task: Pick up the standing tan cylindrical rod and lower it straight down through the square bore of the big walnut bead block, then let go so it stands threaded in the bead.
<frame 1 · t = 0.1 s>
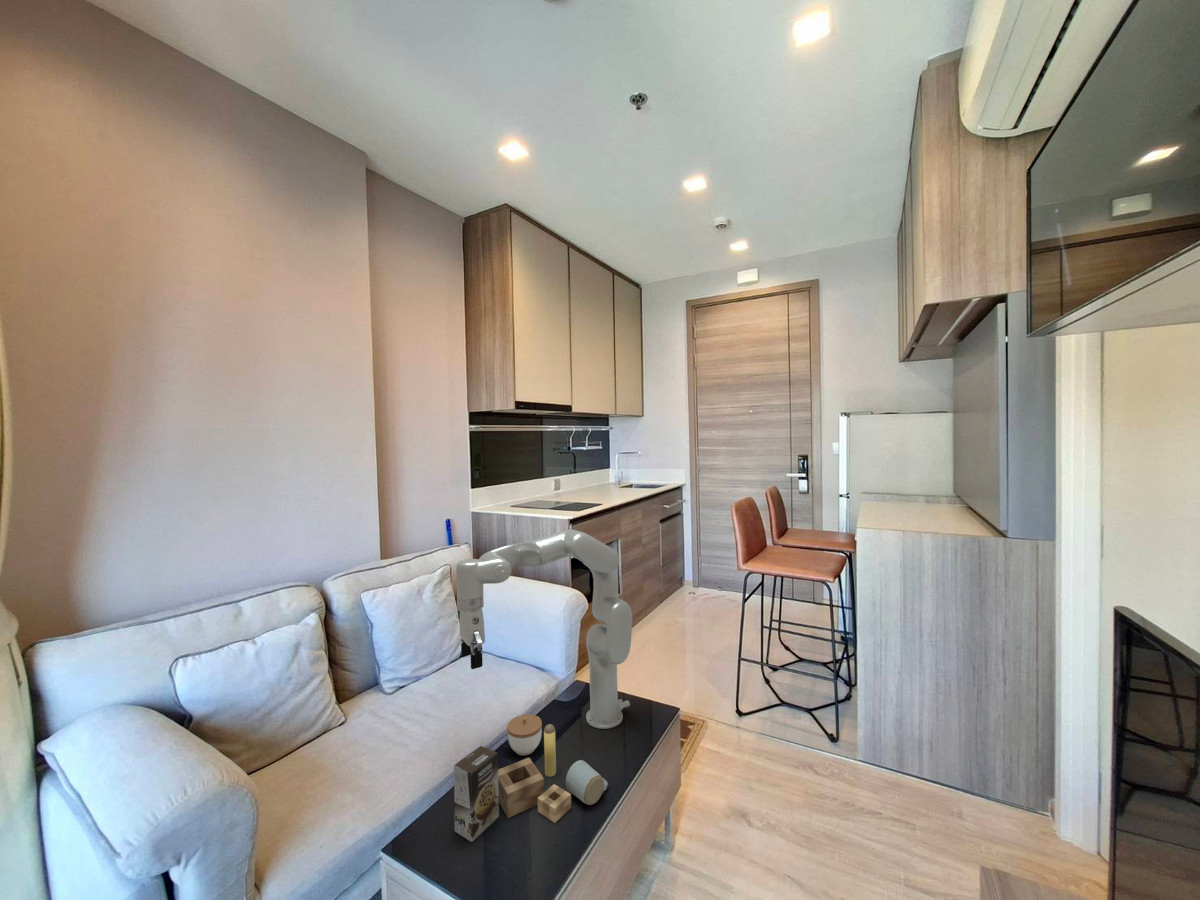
hand: (471, 661, 133), 31 cm above the table, fingers open, 9 cm apart
coffee box: (477, 825, 112), on the table
loose bead: (554, 809, 116), on the table
lidded jar: (525, 749, 141), on the table
tan cylindrical rod: (550, 772, 130), on the table
ceramic mug: (588, 794, 121), on the table
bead: (519, 797, 121), on the table
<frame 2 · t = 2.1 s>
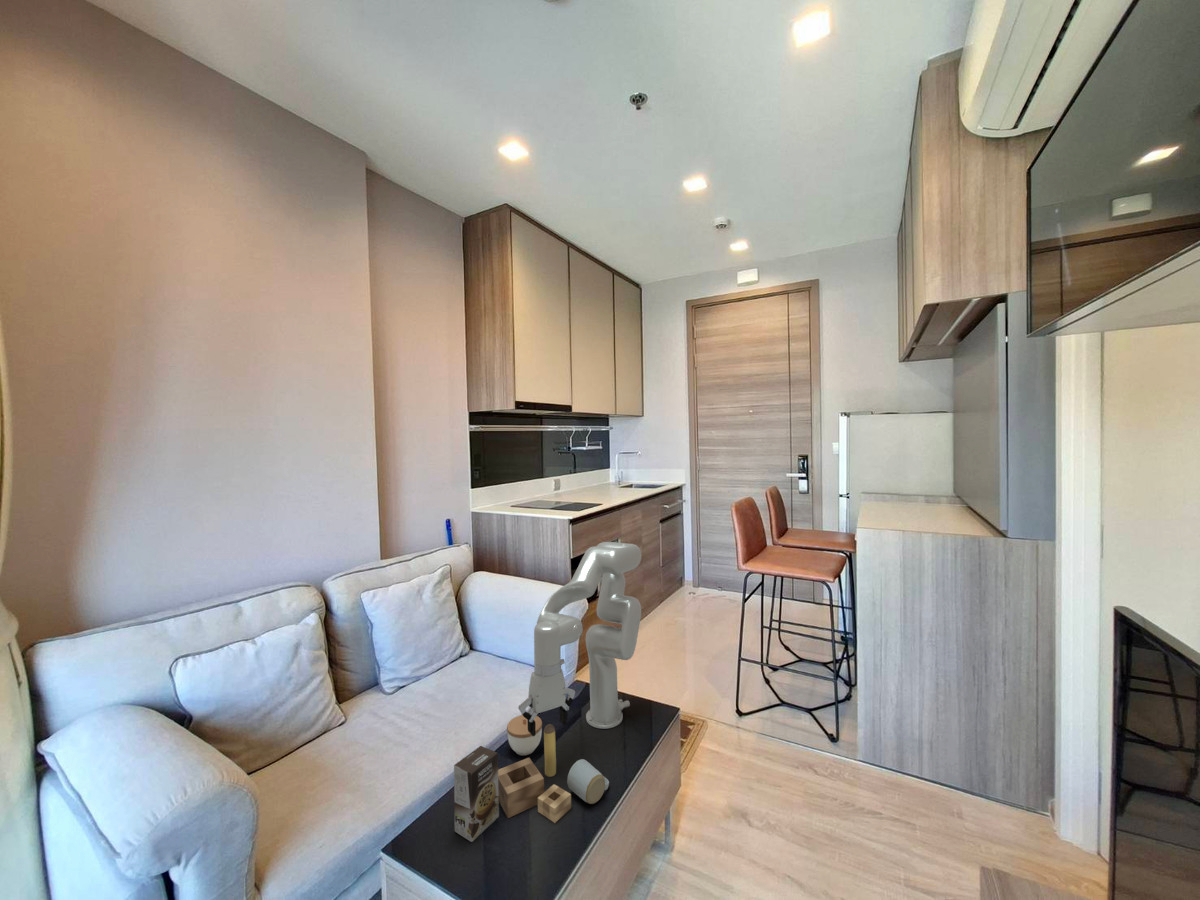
hand: (547, 728, 129), 13 cm above the table, fingers open, 9 cm apart
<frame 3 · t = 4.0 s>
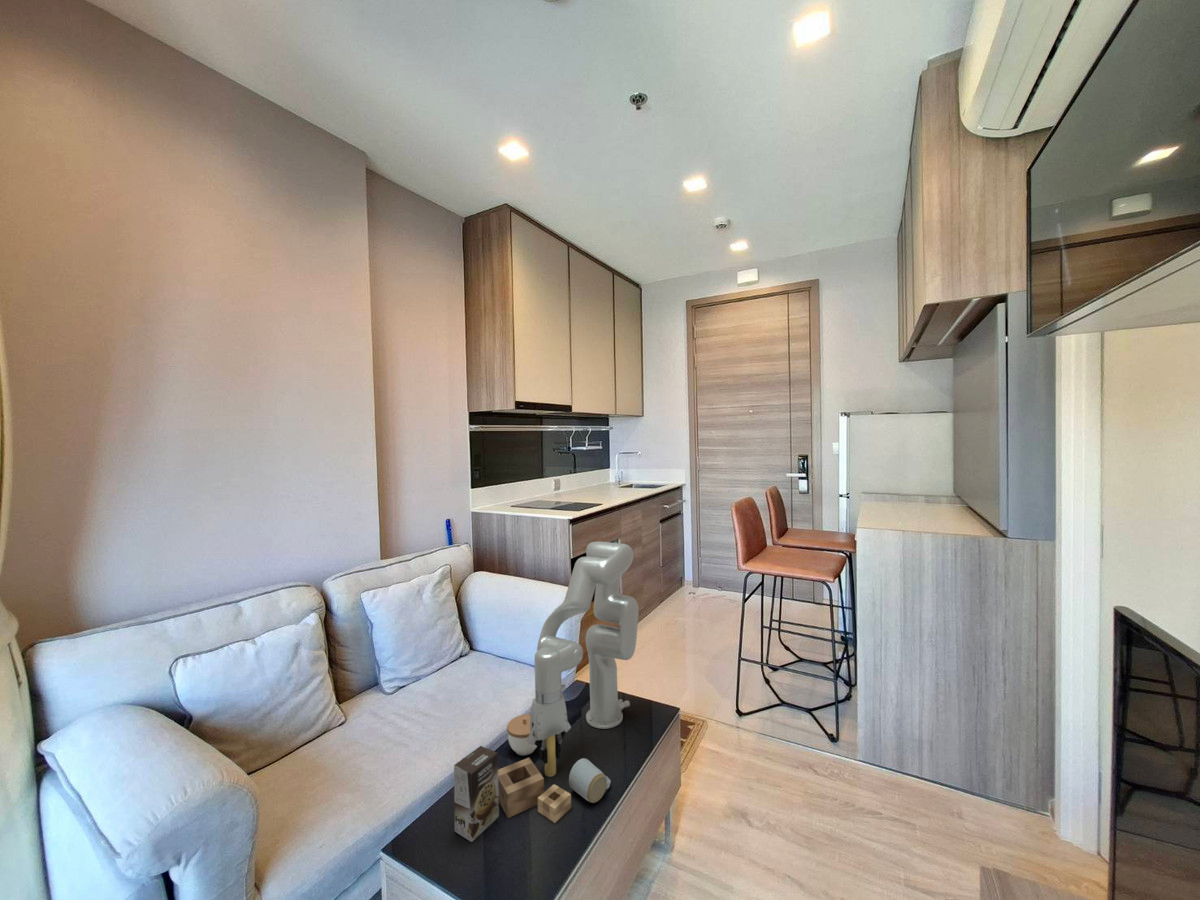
hand: (550, 757, 130), 4 cm above the table, fingers closed on tan cylindrical rod, 3 cm apart
tan cylindrical rod: (550, 772, 130), on the table, touching gripper
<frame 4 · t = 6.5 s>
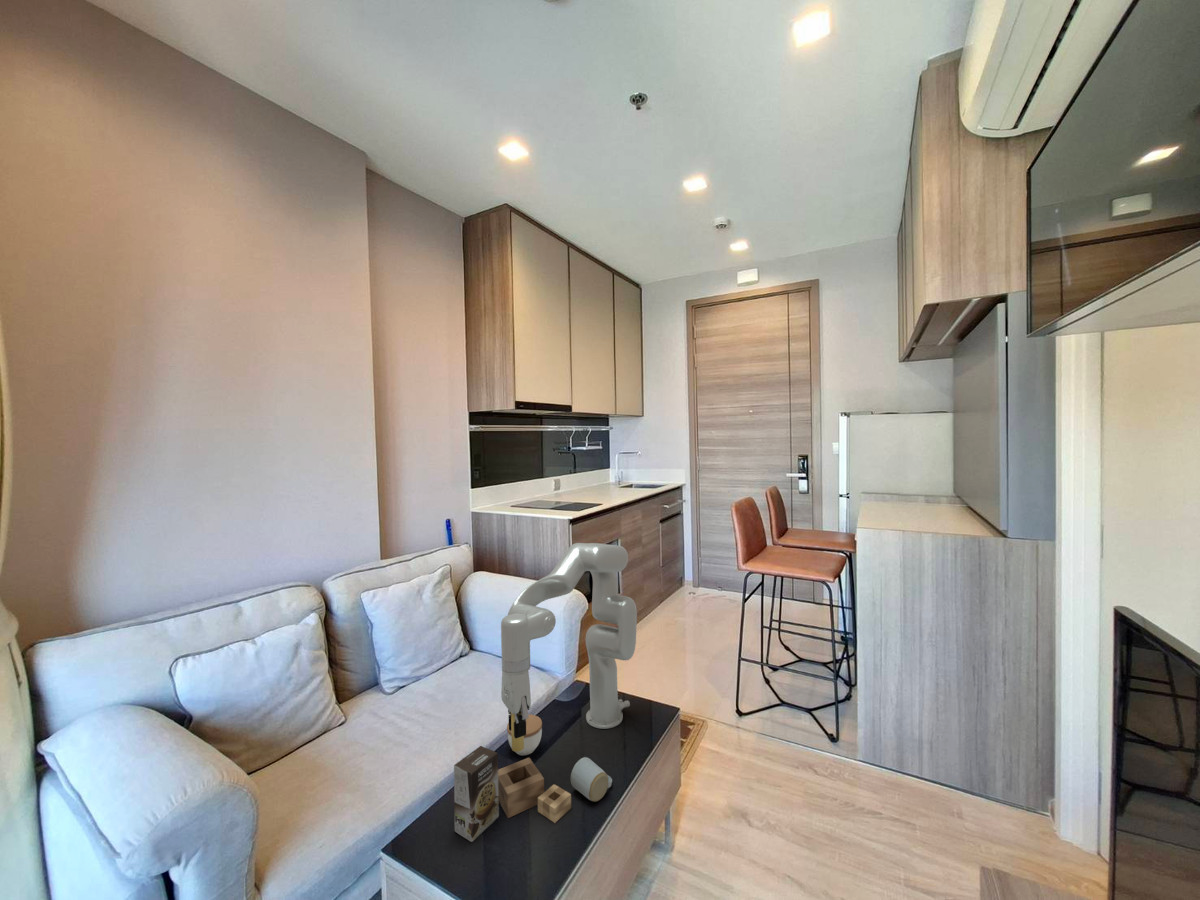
hand: (517, 731, 121), 17 cm above the table, fingers closed on tan cylindrical rod, 3 cm apart
tan cylindrical rod: (517, 747, 121), point 13 cm above the table, touching gripper
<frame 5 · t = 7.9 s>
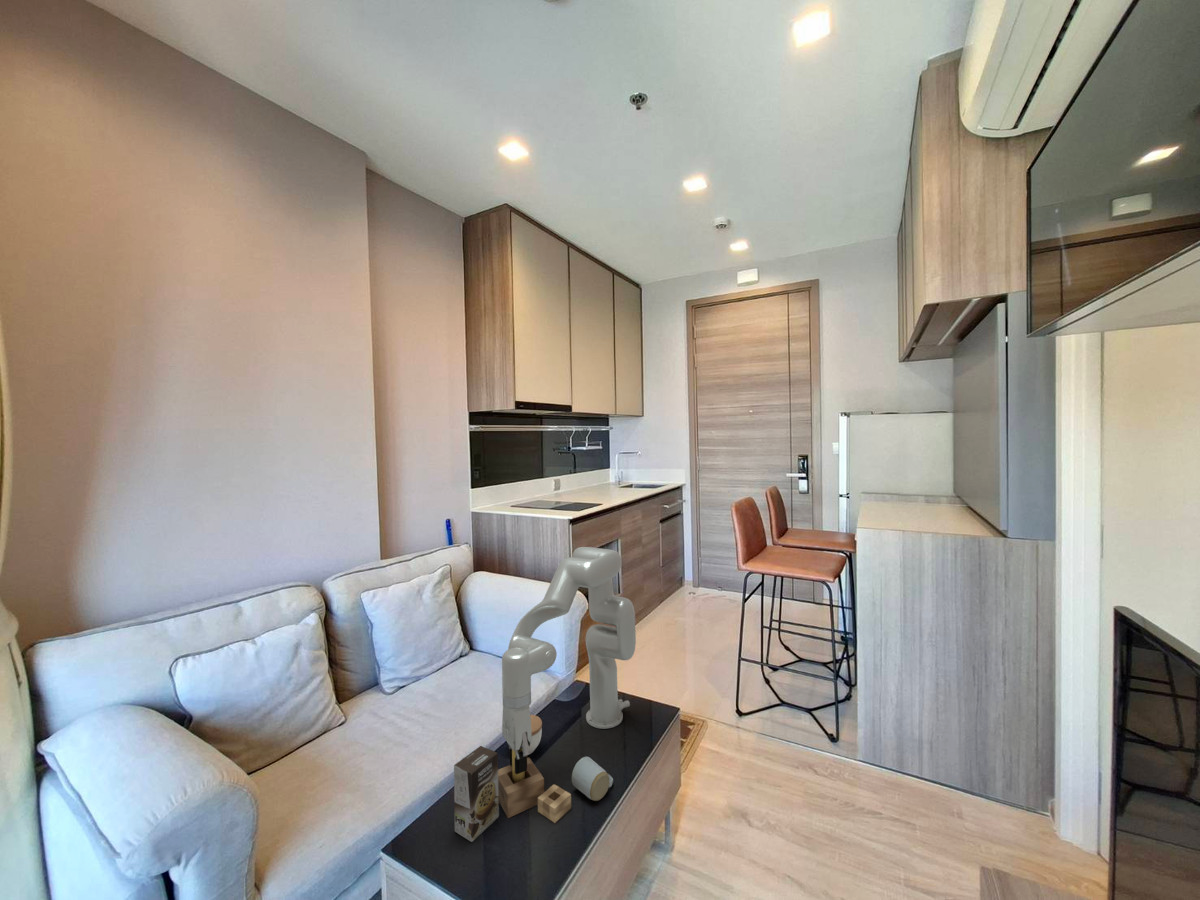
hand: (518, 766, 121), 8 cm above the table, fingers closed on tan cylindrical rod, 3 cm apart
tan cylindrical rod: (518, 783, 120), point 4 cm above the table, touching gripper
when the fingers open (7 cm above the table, at t = 9.2 s): tan cylindrical rod drops 3 cm, resting in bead.
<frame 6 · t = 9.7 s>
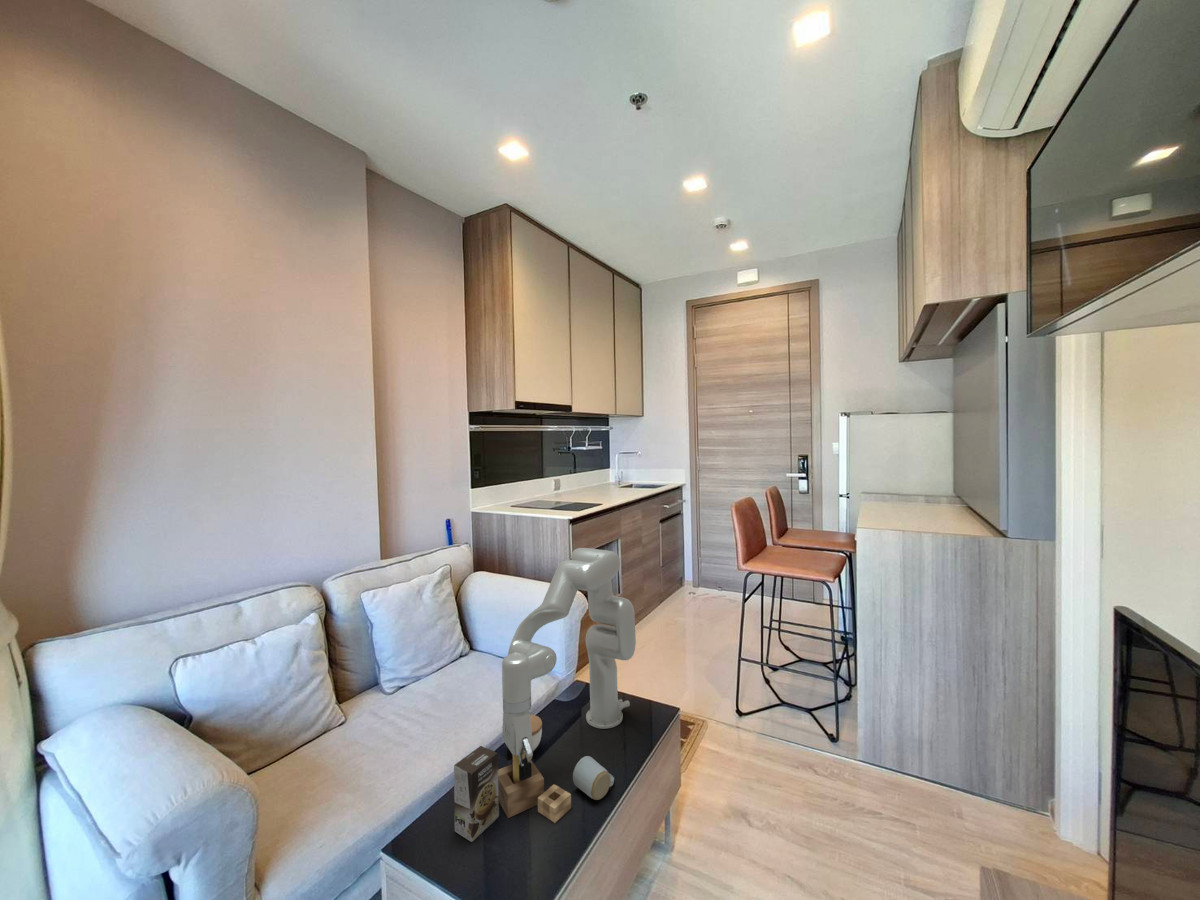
hand: (518, 768, 121), 8 cm above the table, fingers open, 8 cm apart
tan cylindrical rod: (519, 797, 121), resting in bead
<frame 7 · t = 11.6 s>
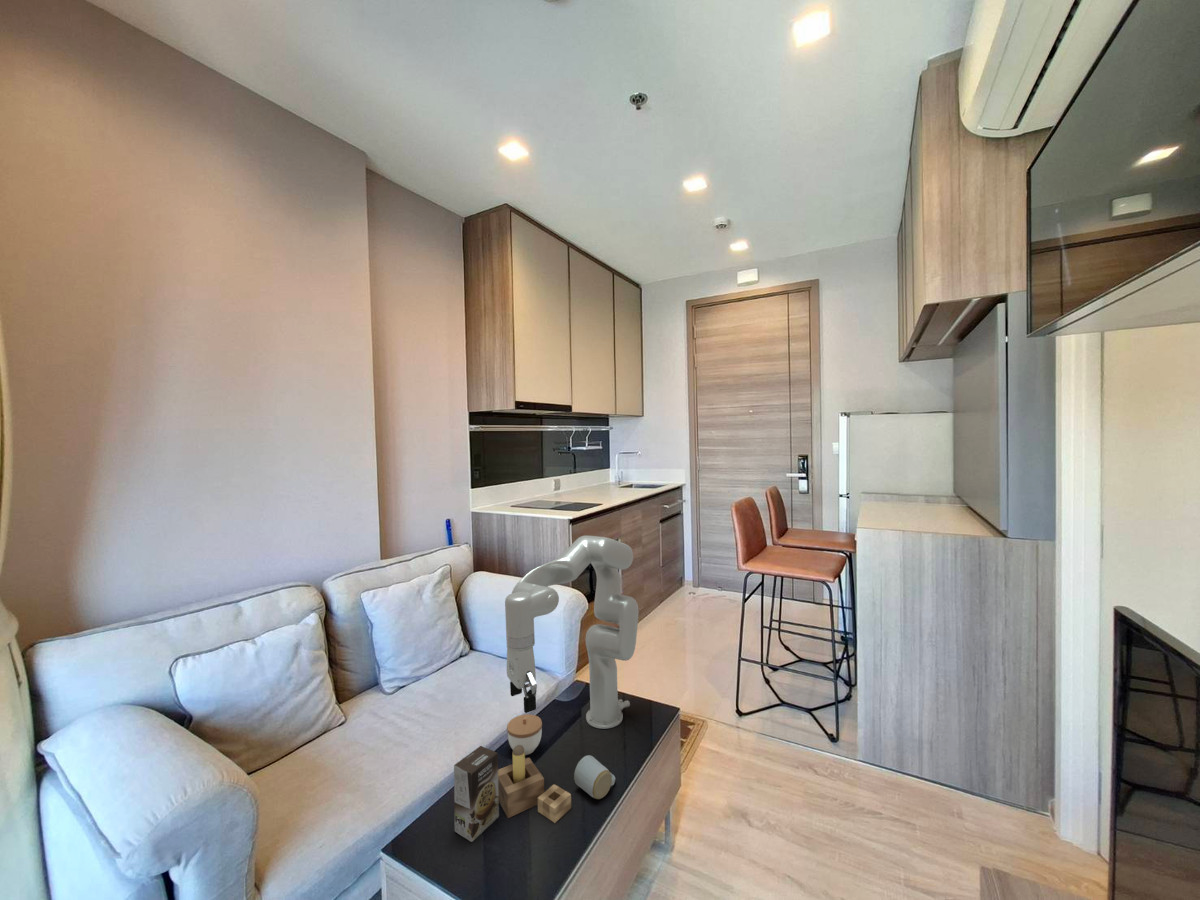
hand: (523, 702, 123), 24 cm above the table, fingers open, 9 cm apart
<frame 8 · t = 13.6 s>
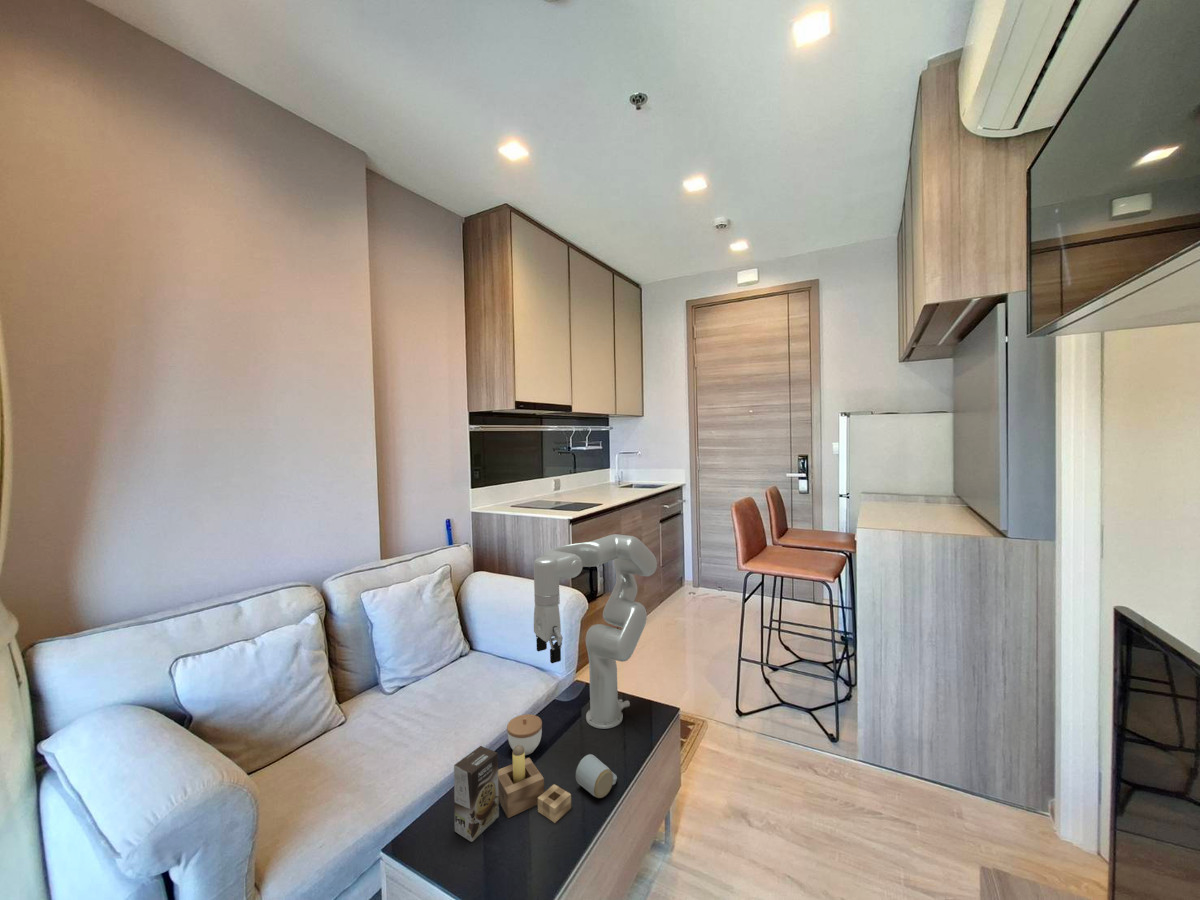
hand: (548, 655, 137), 30 cm above the table, fingers open, 9 cm apart
at the end: tan cylindrical rod 0.1 cm off-centre on the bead, point 0.0 cm above the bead's base; tan cylindrical rod tilted 0°; the gripper is holding nothing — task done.
